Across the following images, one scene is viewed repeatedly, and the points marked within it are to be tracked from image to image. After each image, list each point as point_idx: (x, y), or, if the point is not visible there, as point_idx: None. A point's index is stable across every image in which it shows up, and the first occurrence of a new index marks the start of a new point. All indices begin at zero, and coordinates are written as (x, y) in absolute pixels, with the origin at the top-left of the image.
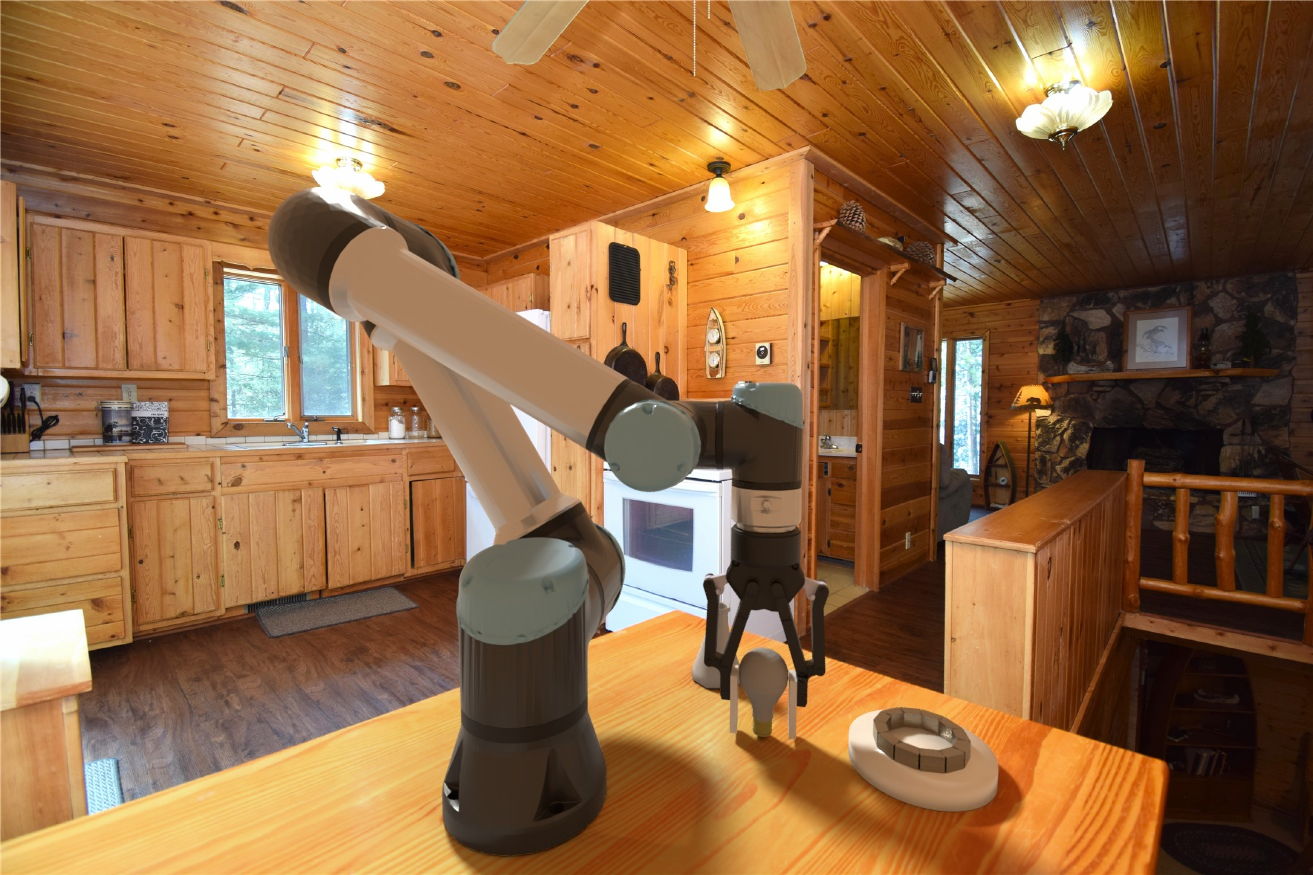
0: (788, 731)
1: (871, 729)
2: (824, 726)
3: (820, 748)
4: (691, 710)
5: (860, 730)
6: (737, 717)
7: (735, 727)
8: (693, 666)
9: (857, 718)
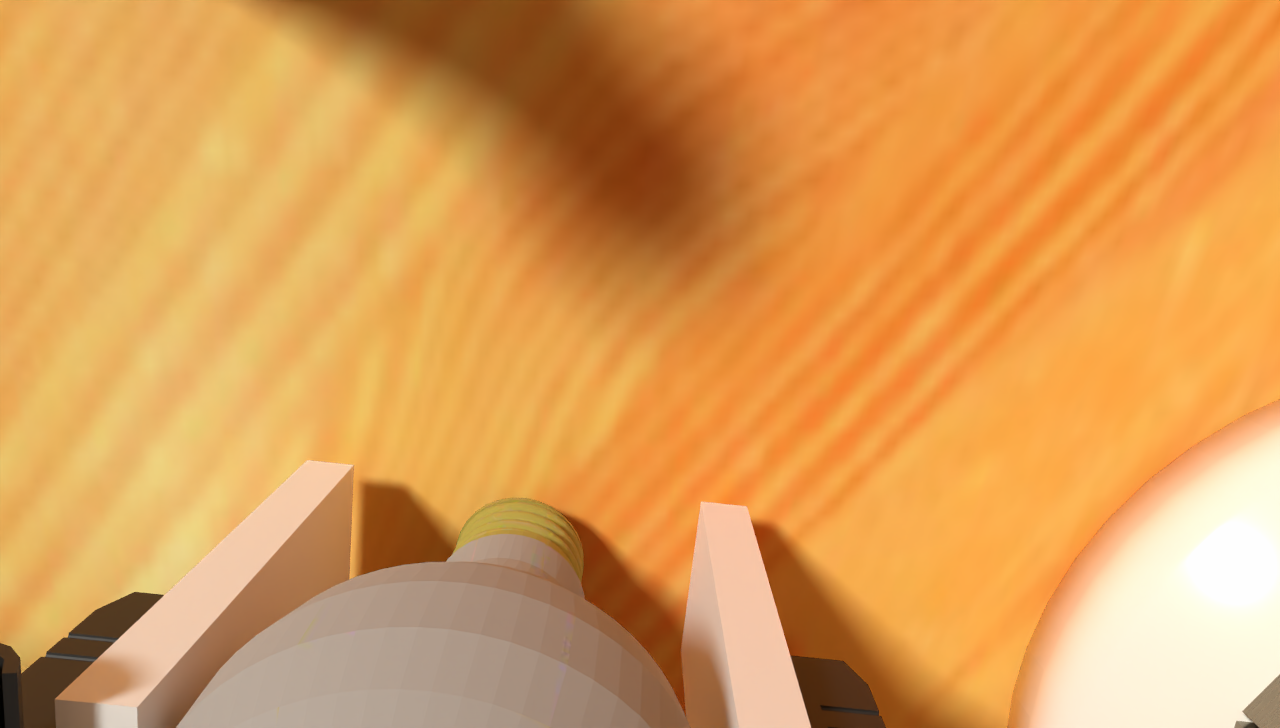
0: (689, 595)
1: (1254, 662)
2: (962, 396)
3: (867, 630)
4: (26, 258)
5: (1172, 678)
6: (339, 518)
7: None
8: None
9: (1214, 541)
